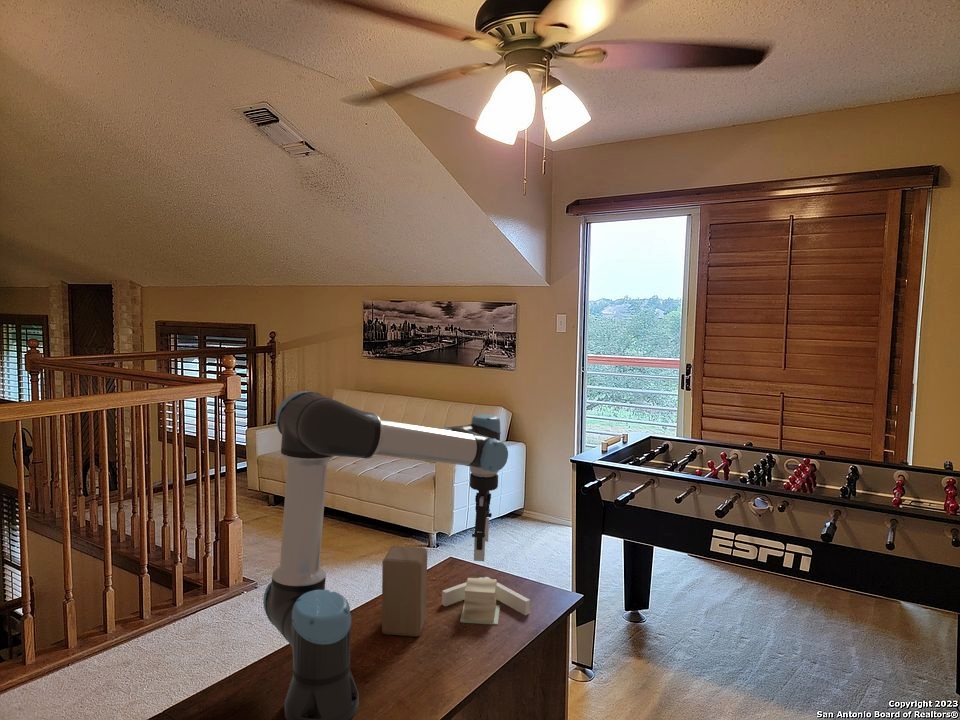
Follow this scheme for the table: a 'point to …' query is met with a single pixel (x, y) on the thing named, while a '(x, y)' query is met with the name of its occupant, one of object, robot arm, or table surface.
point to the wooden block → (404, 591)
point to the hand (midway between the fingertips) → (481, 550)
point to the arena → (502, 595)
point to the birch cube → (480, 599)
